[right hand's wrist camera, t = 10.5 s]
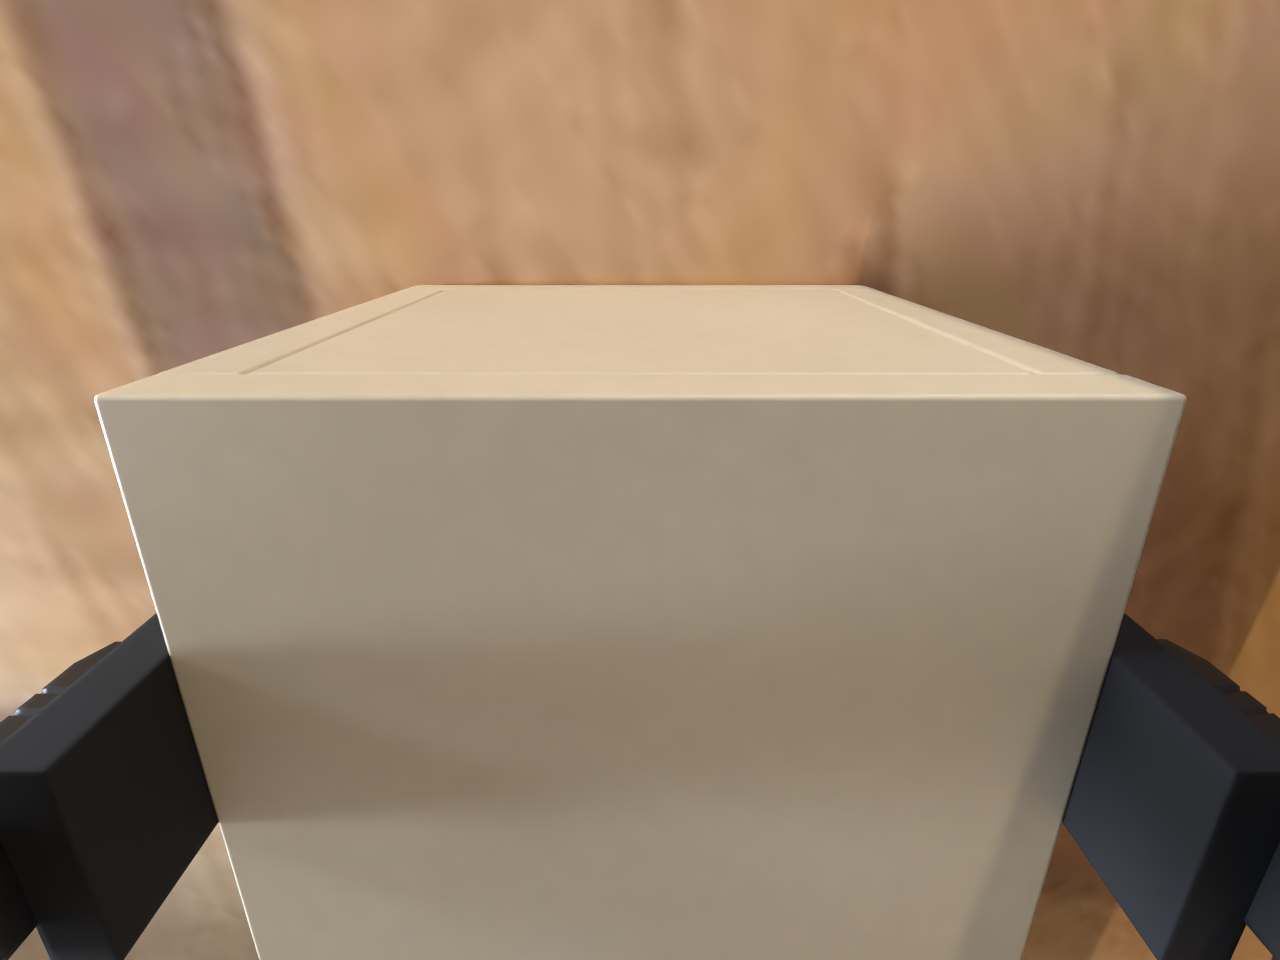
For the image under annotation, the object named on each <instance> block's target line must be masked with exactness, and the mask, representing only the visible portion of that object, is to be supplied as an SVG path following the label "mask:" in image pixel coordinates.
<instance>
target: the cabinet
mask: <svg viewBox="0 0 1280 960" xmlns="http://www.w3.org/2000/svg"><path fill="white" fill-rule="evenodd" d="M94 402H95V405H96V409H97V412H98V415H99V419H100V422H101V426H102V429H103V432H104V436H105V439H106V443H107V446H108V449H109V453H110V456H111V459H112V463H113V466H114V470H115V473H116V476H117V480H118V483H119V487H120V490H121V493H122V497H123V500H124V503H125V507H126V510H127V514H128V517H129V520H130V524H131V527H132V531H133V534H134V537H135V541H136V544H137V547H138V551H139V554H140V558H141V561H142V564H143V568H144V571H145V575H146V578H147V581H148V585H149V588H150V591H151V595H152V598H153V602H154V605H155V608H156V612H157V615H158V619H159V622H160V625H161V629H162V632H163V635H164V639H165V642H166V646H167V649H168V652H169V656H170V659H171V663H172V666H173V669H174V673H175V676H176V679H177V683H178V686H179V690H180V693H181V696H182V700H183V703H184V706H185V710H186V713H187V717H188V720H189V723H190V727H191V730H192V734H193V737H194V740H195V744H196V747H197V750H198V754H199V757H200V761H201V764H202V767H203V771H204V774H205V778H206V781H207V784H208V788H209V791H210V794H211V798H212V801H213V805H214V808H215V811H216V815H217V818H218V822H219V825H220V828H221V832H222V835H223V838H224V842H225V845H226V849H227V852H228V855H229V859H230V862H231V866H232V869H233V872H234V876H235V879H236V882H237V886H238V889H239V893H240V896H241V899H242V903H243V906H244V910H245V913H246V916H247V920H248V923H249V926H250V930H251V933H252V937H253V940H254V943H255V947H256V950H257V954H258V957H259V960H1021V959H1022V956H1023V953H1024V949H1025V946H1026V942H1027V939H1028V936H1029V932H1030V929H1031V925H1032V922H1033V919H1034V915H1035V912H1036V909H1037V905H1038V902H1039V898H1040V895H1041V892H1042V888H1043V885H1044V882H1045V878H1046V875H1047V871H1048V868H1049V865H1050V861H1051V858H1052V855H1053V851H1054V848H1055V844H1056V841H1057V838H1058V834H1059V831H1060V828H1061V824H1062V821H1063V817H1064V814H1065V811H1066V807H1067V804H1068V800H1069V797H1070V794H1071V790H1072V787H1073V784H1074V780H1075V777H1076V773H1077V770H1078V767H1079V763H1080V760H1081V757H1082V753H1083V750H1084V746H1085V743H1086V740H1087V736H1088V733H1089V730H1090V726H1091V723H1092V719H1093V716H1094V713H1095V709H1096V706H1097V703H1098V699H1099V696H1100V692H1101V689H1102V686H1103V682H1104V679H1105V675H1106V672H1107V669H1108V665H1109V662H1110V659H1111V655H1112V652H1113V648H1114V645H1115V642H1116V638H1117V635H1118V632H1119V628H1120V625H1121V621H1122V618H1123V615H1124V611H1125V608H1126V605H1127V601H1128V598H1129V594H1130V591H1131V588H1132V584H1133V581H1134V577H1135V574H1136V571H1137V567H1138V564H1139V561H1140V557H1141V554H1142V550H1143V547H1144V544H1145V540H1146V537H1147V534H1148V530H1149V527H1150V523H1151V520H1152V517H1153V513H1154V510H1155V507H1156V503H1157V500H1158V496H1159V493H1160V490H1161V486H1162V483H1163V480H1164V476H1165V473H1166V469H1167V466H1168V463H1169V459H1170V456H1171V452H1172V449H1173V446H1174V442H1175V439H1176V436H1177V432H1178V429H1179V425H1180V422H1181V419H1182V415H1183V412H1184V409H1185V405H1186V402H1187V399H1186V396H1185V395H1183V394H1181V393H1178V392H1175V391H1172V390H1169V389H1166V388H1163V387H1160V386H1158V385H1155V384H1152V383H1149V382H1146V381H1143V380H1140V379H1137V378H1134V377H1131V376H1128V375H1120V374H1118V373H1116V372H1114V371H1111V370H1108V369H1105V368H1102V367H1100V366H1097V365H1094V364H1091V363H1088V362H1085V361H1082V360H1079V359H1076V358H1073V357H1070V356H1067V355H1065V354H1062V353H1059V352H1056V351H1053V350H1050V349H1047V348H1044V347H1041V346H1038V345H1035V344H1033V343H1030V342H1027V341H1024V340H1021V339H1018V338H1015V337H1012V336H1009V335H1006V334H1003V333H1000V332H998V331H995V330H992V329H989V328H986V327H983V326H980V325H977V324H974V323H971V322H968V321H966V320H963V319H960V318H957V317H954V316H951V315H948V314H945V313H942V312H939V311H936V310H933V309H931V308H928V307H925V306H922V305H919V304H916V303H913V302H910V301H907V300H904V299H901V298H899V297H896V296H893V295H890V294H887V293H884V292H881V291H878V290H875V289H873V288H870V287H867V286H864V285H416V286H413V287H411V288H408V289H405V290H401V291H398V292H395V293H392V294H389V295H386V296H383V297H380V298H377V299H374V300H371V301H368V302H366V303H363V304H360V305H357V306H354V307H351V308H348V309H345V310H342V311H339V312H336V313H333V314H330V315H328V316H325V317H322V318H319V319H316V320H313V321H310V322H307V323H304V324H301V325H298V326H295V327H292V328H290V329H287V330H284V331H281V332H278V333H275V334H272V335H269V336H266V337H263V338H260V339H257V340H254V341H251V342H249V343H246V344H243V345H240V346H237V347H234V348H231V349H228V350H225V351H222V352H219V353H216V354H213V355H211V356H208V357H205V358H202V359H199V360H196V361H193V362H190V363H187V364H184V365H181V366H178V367H175V368H173V369H170V370H167V371H164V372H161V373H159V374H158V375H153V376H150V377H147V378H144V379H141V380H138V381H135V382H132V383H129V384H126V385H124V386H121V387H118V388H115V389H112V390H109V391H106V392H103V393H100V394H98V395H96V396H95V399H94Z"/></svg>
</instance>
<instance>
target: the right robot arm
mask: <svg viewBox="0 0 1280 960" xmlns="http://www.w3.org/2000/svg"><path fill="white" fill-rule="evenodd" d="M1239 687H1240V686H1238V685H1237V684H1236V683H1235V682H1233V681H1232V680H1231V679H1230V678H1228V677H1227V676H1226V675H1225V674H1223V673H1222V672H1221V671H1219V670H1218V669H1217V668H1216V667H1214V666H1213V665H1212V664H1211V663H1209V662H1208V661H1207V660H1205V659H1203V658H1201V657H1199V656H1197V655H1195V654H1193V653H1191V652H1189V651H1187V650H1186V649H1184V648H1182V647H1180V646H1178V645H1176V644H1174V643H1172V642H1170V641H1168V640H1156V639H1155V638H1154V637H1152V636H1151V635H1150V634H1149V633H1148V632H1146V631H1145V630H1144V629H1143V628H1142V627H1140V626H1139V625H1138V624H1137V623H1136V622H1134V621H1133V620H1132V619H1131V618H1130V617H1128V616H1127V615H1126V614H1125V613H1124V615H1123V618H1122V621H1121V625H1120V628H1119V632H1118V635H1117V638H1116V642H1115V645H1114V648H1113V652H1112V655H1111V659H1110V662H1109V665H1108V669H1107V672H1106V675H1105V679H1104V682H1103V686H1102V689H1101V692H1100V696H1099V699H1098V703H1097V706H1096V709H1095V713H1094V716H1093V719H1092V723H1091V726H1090V730H1089V733H1088V736H1087V740H1086V743H1085V746H1084V750H1083V753H1082V757H1081V760H1080V763H1079V767H1078V770H1077V773H1076V777H1075V780H1074V784H1073V787H1072V790H1071V794H1070V797H1069V800H1068V804H1067V807H1066V811H1065V814H1064V817H1063V821H1062V822H1063V824H1064V825H1065V827H1066V828H1067V829H1068V831H1069V832H1070V834H1071V835H1072V837H1073V838H1074V840H1075V841H1076V843H1077V844H1078V845H1079V847H1080V848H1081V850H1082V851H1083V853H1084V854H1085V856H1086V857H1087V859H1088V860H1089V861H1090V863H1091V864H1092V866H1093V867H1094V869H1095V870H1096V872H1097V873H1098V875H1099V876H1100V877H1101V879H1102V880H1103V882H1104V883H1105V885H1106V886H1107V888H1108V889H1109V890H1110V892H1111V893H1112V895H1113V896H1114V898H1115V899H1116V901H1117V902H1118V904H1119V905H1120V906H1121V908H1122V909H1123V911H1124V912H1125V914H1126V915H1127V917H1128V918H1129V920H1130V921H1131V922H1132V924H1133V925H1134V927H1135V928H1136V930H1137V931H1138V933H1139V934H1140V936H1141V937H1142V938H1143V940H1144V941H1145V943H1146V944H1147V946H1148V947H1149V949H1150V950H1151V951H1152V953H1153V954H1154V956H1155V957H1156V959H1157V960H1230V959H1231V957H1232V955H1233V953H1234V950H1235V948H1236V946H1237V944H1238V942H1239V939H1240V937H1241V935H1242V933H1243V931H1244V928H1245V926H1246V924H1247V926H1248V927H1249V928H1250V929H1251V930H1252V931H1253V933H1254V934H1255V935H1256V936H1257V937H1258V939H1259V940H1260V941H1261V942H1262V943H1263V944H1264V946H1265V947H1266V948H1267V949H1268V950H1269V952H1270V953H1271V954H1272V955H1273V957H1272V959H1271V960H1280V718H1279V717H1277V716H1276V715H1275V714H1274V713H1267V711H1266V707H1265V706H1263V705H1262V704H1261V703H1260V702H1258V701H1257V700H1256V699H1255V698H1253V697H1252V696H1251V695H1250V694H1248V693H1247V692H1241V691H1240V689H1239ZM217 823H218V818H217V815H216V811H215V808H214V805H213V801H212V798H211V794H210V791H209V788H208V784H207V781H206V778H205V774H204V771H203V767H202V764H201V761H200V757H199V754H198V750H197V747H196V744H195V740H194V737H193V734H192V730H191V727H190V723H189V720H188V717H187V713H186V710H185V706H184V703H183V700H182V696H181V693H180V690H179V686H178V683H177V679H176V676H175V673H174V669H173V666H172V663H171V659H170V656H169V652H168V649H167V646H166V642H165V639H164V635H163V632H162V629H161V625H160V622H159V619H158V615H157V613H156V614H155V615H154V616H152V617H151V618H150V619H149V620H148V621H146V622H145V623H144V624H143V625H142V626H140V627H139V628H138V629H137V630H136V631H134V632H133V633H132V634H131V635H130V636H128V637H127V638H126V639H125V640H124V641H122V642H114V643H112V644H110V645H108V646H106V647H104V648H103V649H101V650H99V651H97V652H95V653H93V654H91V655H89V656H87V657H85V658H84V659H82V660H80V661H78V662H76V663H74V664H73V665H72V666H70V667H69V668H68V669H67V670H65V671H64V672H63V673H62V674H60V675H59V676H58V677H57V678H55V679H54V680H53V681H52V682H50V683H49V684H48V685H47V686H45V687H44V688H43V691H42V694H35V695H34V696H33V697H32V698H30V699H29V700H28V701H27V702H25V703H24V704H23V705H22V706H20V707H19V708H18V709H17V710H16V714H15V715H14V716H8V717H7V718H6V719H4V720H3V721H2V722H1V723H0V960H9V958H10V957H11V955H12V954H13V953H14V952H15V951H16V950H17V948H18V947H19V946H20V945H21V944H22V942H23V941H24V940H25V939H26V938H27V937H28V935H29V934H30V933H31V932H32V931H33V929H34V928H35V927H36V928H37V930H38V932H39V935H40V937H41V939H42V941H43V943H44V946H45V948H46V950H47V952H48V954H49V957H50V959H51V960H124V958H125V957H126V956H127V954H128V953H129V951H130V950H131V948H132V947H133V945H134V944H135V942H136V941H137V940H138V938H139V937H140V935H141V934H142V932H143V931H144V929H145V928H146V926H147V925H148V924H149V922H150V921H151V919H152V918H153V916H154V915H155V913H156V912H157V910H158V909H159V908H160V906H161V905H162V903H163V902H164V900H165V899H166V897H167V896H168V895H169V893H170V892H171V890H172V889H173V887H174V886H175V884H176V883H177V881H178V880H179V879H180V877H181V876H182V874H183V873H184V871H185V870H186V868H187V867H188V865H189V864H190V863H191V861H192V860H193V858H194V857H195V855H196V854H197V852H198V851H199V849H200V848H201V847H202V845H203V844H204V842H205V841H206V839H207V838H208V836H209V835H210V833H211V832H212V831H213V829H214V828H215V826H216V825H217Z"/></svg>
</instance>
